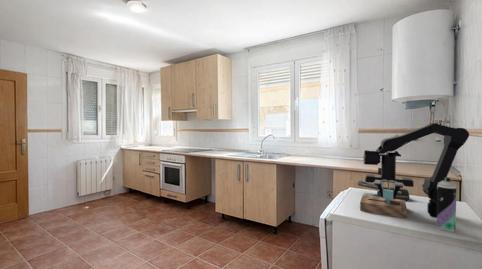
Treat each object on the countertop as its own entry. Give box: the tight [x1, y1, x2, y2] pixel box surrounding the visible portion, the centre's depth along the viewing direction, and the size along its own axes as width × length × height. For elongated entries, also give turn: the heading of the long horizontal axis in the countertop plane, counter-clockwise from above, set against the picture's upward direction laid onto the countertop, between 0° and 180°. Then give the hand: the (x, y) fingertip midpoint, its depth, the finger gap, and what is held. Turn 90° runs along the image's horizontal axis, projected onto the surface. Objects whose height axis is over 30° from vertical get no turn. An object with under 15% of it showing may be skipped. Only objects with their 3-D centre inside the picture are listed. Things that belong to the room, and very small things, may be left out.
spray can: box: [436, 177, 457, 233], centre depth 89 cm, size 6×6×20 cm
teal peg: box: [383, 189, 393, 204], centre depth 109 cm, size 4×4×9 cm
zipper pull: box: [356, 180, 410, 202], centre depth 130 cm, size 9×7×25 cm
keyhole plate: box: [359, 194, 408, 219], centre depth 110 cm, size 18×13×4 cm
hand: (388, 198), depth 109 cm, fingers closed on teal peg, 4 cm apart
